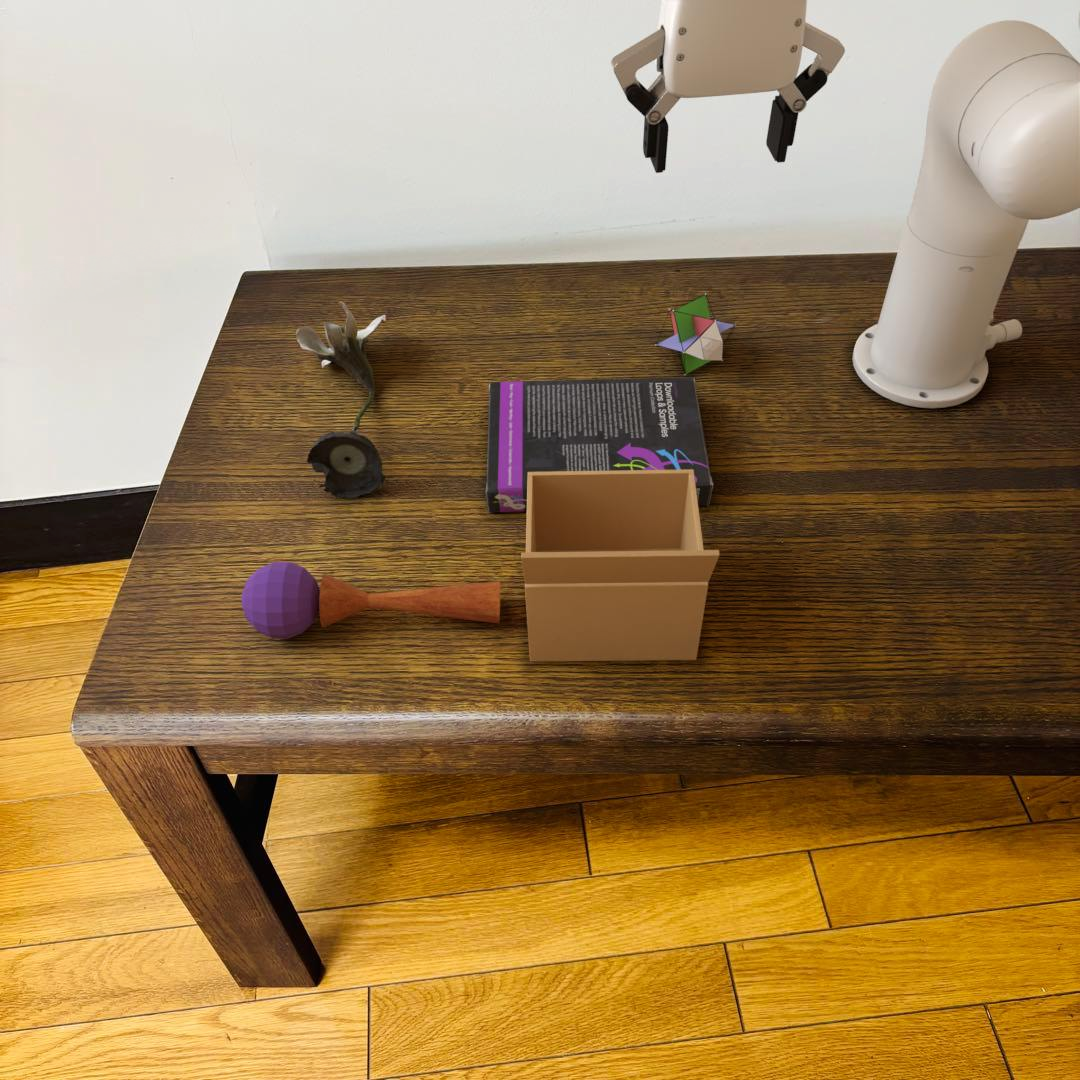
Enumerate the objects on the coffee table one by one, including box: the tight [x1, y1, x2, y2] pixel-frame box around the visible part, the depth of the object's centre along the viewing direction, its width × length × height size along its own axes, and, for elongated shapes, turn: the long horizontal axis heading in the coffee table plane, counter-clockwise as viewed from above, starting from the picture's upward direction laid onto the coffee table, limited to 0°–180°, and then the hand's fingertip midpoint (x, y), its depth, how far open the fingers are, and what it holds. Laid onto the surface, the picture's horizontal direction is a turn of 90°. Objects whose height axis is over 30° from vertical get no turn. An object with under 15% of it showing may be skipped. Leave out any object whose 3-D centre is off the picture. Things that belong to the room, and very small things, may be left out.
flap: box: [520, 549, 720, 585], centre depth 67 cm, size 13×6×1 cm
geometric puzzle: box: [654, 293, 737, 376], centre depth 97 cm, size 7×7×8 cm
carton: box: [524, 469, 709, 662], centre depth 77 cm, size 13×11×9 cm
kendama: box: [240, 561, 501, 639], centre depth 78 cm, size 6×6×20 cm
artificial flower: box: [291, 301, 386, 500], centre depth 94 cm, size 9×22×10 cm, turn 1°
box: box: [484, 376, 714, 514], centre depth 90 cm, size 14×4×20 cm
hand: (716, 159), depth 80 cm, fingers open, 9 cm apart
